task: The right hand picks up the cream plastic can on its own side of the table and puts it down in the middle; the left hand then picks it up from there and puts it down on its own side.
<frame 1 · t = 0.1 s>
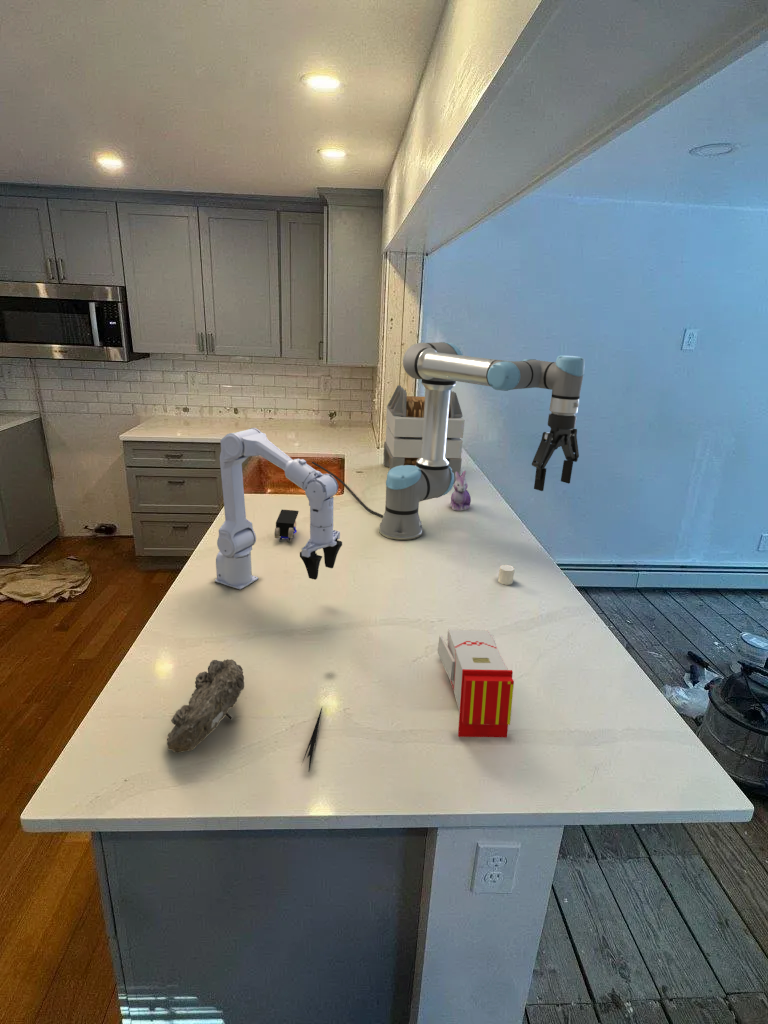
left hand: (321, 572, 146), 10 cm above the counter, tool pointing down, fingers open, 7 cm apart
right hand: (552, 486, 166), 28 cm above the counter, tool pointing down, fingers open, 13 cm apart
can: (505, 581, 168), on the counter
figurine: (460, 507, 229), on the counter
toy: (469, 691, 119), on the counter
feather: (319, 719, 109), on the counter
white slatted crate: (419, 473, 275), on the counter
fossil: (212, 717, 108), on the counter
black wheeled cart: (287, 537, 193), on the counter
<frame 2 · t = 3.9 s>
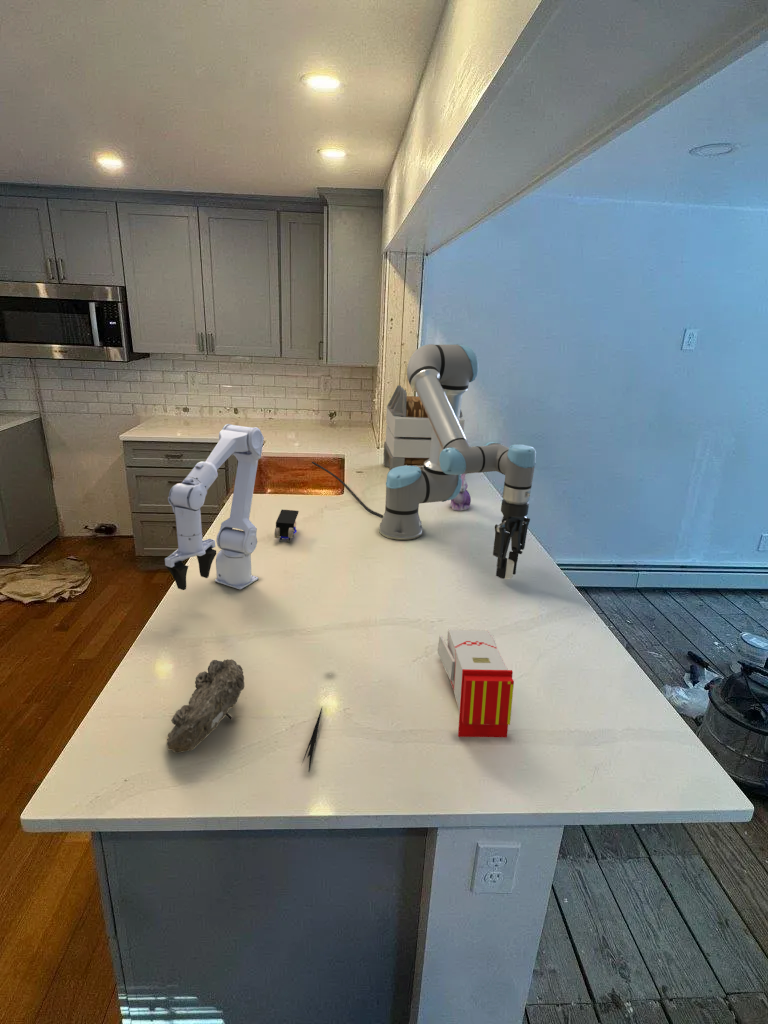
left hand: (193, 582, 141), 8 cm above the counter, tool pointing down, fingers open, 7 cm apart
right hand: (505, 574, 168), 2 cm above the counter, tool pointing down, fingers closed on can, 4 cm apart
can: (505, 575, 168), point 2 cm above the counter, touching right hand
everything else where it was.
when the right hand's fingers open (1 cm above the counter, at t = 11.3 s): can stays where it is, on the counter.
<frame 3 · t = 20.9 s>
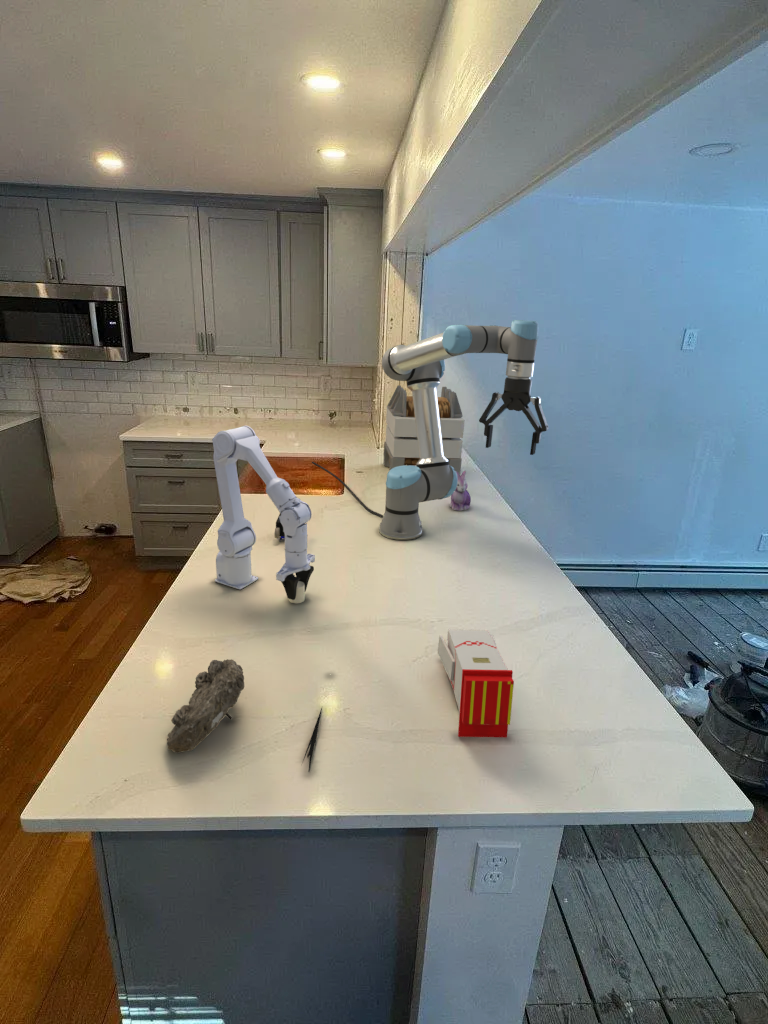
left hand: (296, 594, 152), 1 cm above the counter, tool pointing down, fingers closed on can, 4 cm apart
right hand: (509, 450, 168), 36 cm above the counter, tool pointing down, fingers open, 13 cm apart
can: (296, 599, 152), on the counter, touching left hand
everything else where it was.
when the left hand's fingers open (2 cm above the counter, at t = 25.6 s): can stays where it is, on the counter.
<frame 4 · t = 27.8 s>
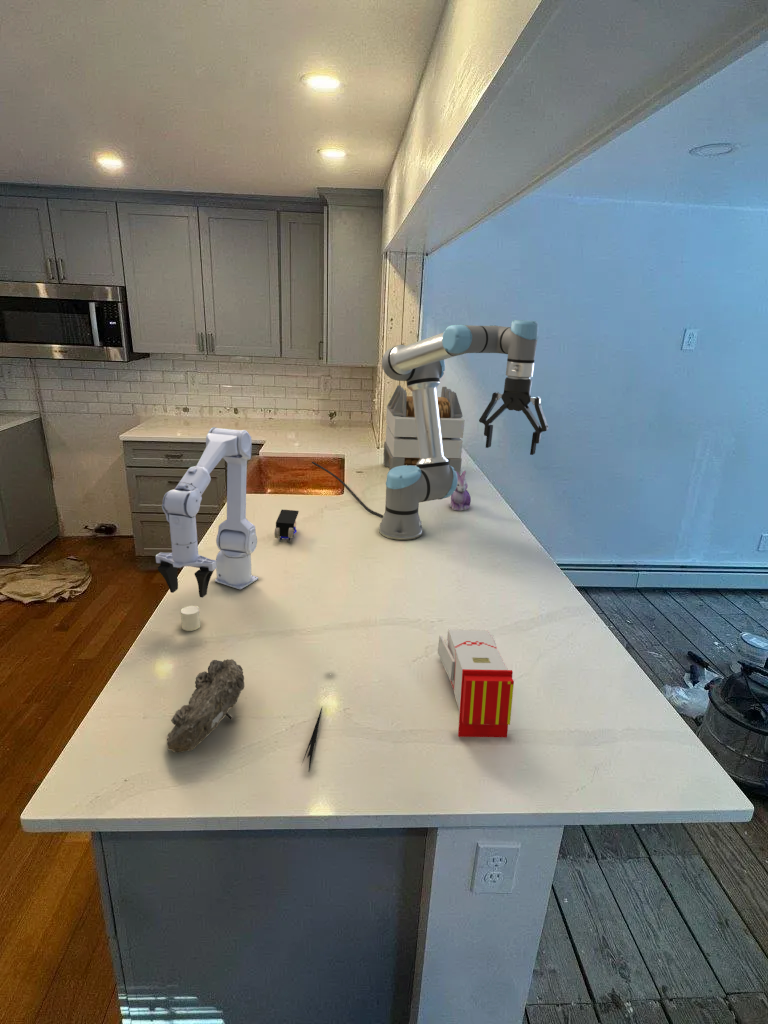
left hand: (188, 593, 135), 9 cm above the counter, tool pointing down, fingers open, 7 cm apart
right hand: (509, 450, 168), 36 cm above the counter, tool pointing down, fingers open, 13 cm apart
can: (191, 626, 138), on the counter
everything else where it was.
at the end: can inside the target area (0.1 cm from its centre), on the counter; can tilted 0°; the two hands never held the can at the same time; the left hand is holding nothing; the right hand is holding nothing; can at rest at the end (0.0 cm/s) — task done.
